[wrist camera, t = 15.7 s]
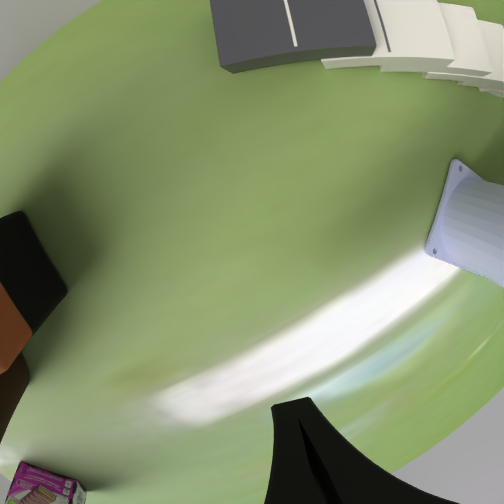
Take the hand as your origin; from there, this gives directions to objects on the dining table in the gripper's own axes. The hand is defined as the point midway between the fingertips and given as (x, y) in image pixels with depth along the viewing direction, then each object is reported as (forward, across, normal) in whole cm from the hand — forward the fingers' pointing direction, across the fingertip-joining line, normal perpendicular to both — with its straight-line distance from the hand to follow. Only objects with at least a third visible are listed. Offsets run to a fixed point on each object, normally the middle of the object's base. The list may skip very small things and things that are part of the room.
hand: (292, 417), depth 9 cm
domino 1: (+10, 0, -16) cm, 19 cm away
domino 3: (+10, -10, -16) cm, 21 cm away
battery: (+11, +15, -5) cm, 19 cm away
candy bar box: (+11, +35, +27) cm, 45 cm away
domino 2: (+10, -6, -16) cm, 20 cm away
